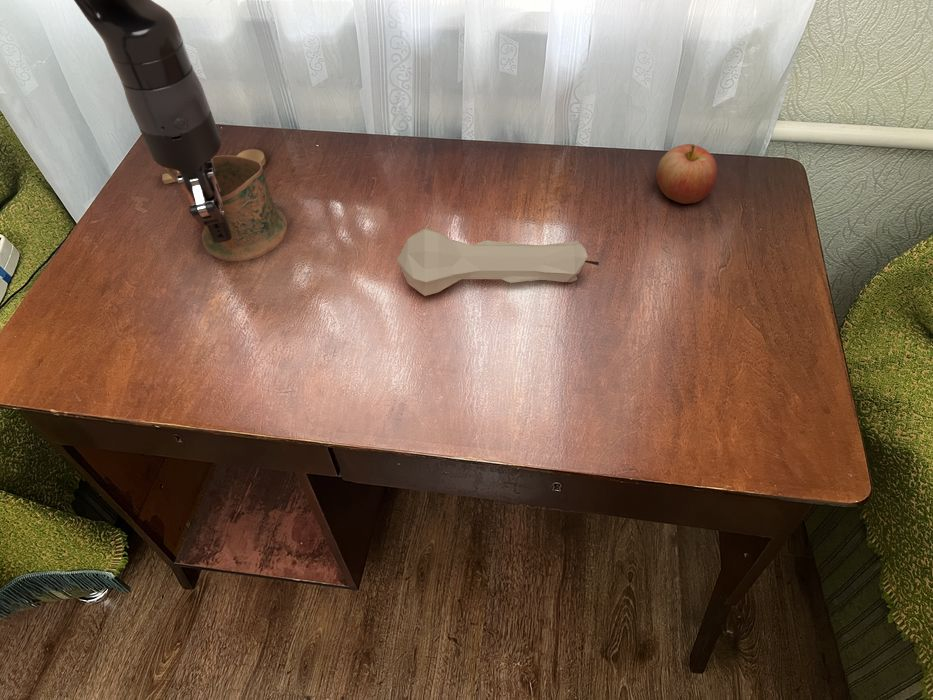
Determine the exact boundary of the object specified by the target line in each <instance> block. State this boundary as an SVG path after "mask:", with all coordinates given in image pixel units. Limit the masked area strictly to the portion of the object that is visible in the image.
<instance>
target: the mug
mask: <svg viewBox="0 0 933 700" xmlns="http://www.w3.org/2000/svg"><path fill="white" fill-rule="evenodd" d="M213 161H214V164H215V173H216V176H217V178H218V181H219V184H220V191H221V198H222V202H223V205H224V206H223V210H224V213H225V217H226V219H227V222H228V224H229V227H230V230H231V237H232V238H231V240H229V241H224V242H220V243H216V242H214V241H213V238H212V236H211V234H210V231H209V229H208V226H204V227H203V230H202V233H201V242H202V245H203V247H204V249H205V250H206V251H207V253H208V254H210V255H211V256H212V257H213V258H216V259H219V260H221V261H225V262H244V261H245V262H246V261H250V260H254V259H257V258H259V257H262V256H265V255H266V254H269V253H270V252H272V251H273V250H274V249H276V248H277V247H278V246H279V245H280V244H281V243H282V242H283V241H284V239H285V237H286V235H287V233H288V221H287V218H286V216H285V214H284V213H283V212H282V211H281V210H280V209H279V208H277V207H276V206H275V203H274V201H273V198H272V193H271V191H270V188H269V185H268V182H267V179H266V176H265V173H264V167H262V165H261V163H259V162H258V161H255V160H252V159H248V158H244V157H238V156H237V155H229V154H225V155H224V154H223V155H215V156H214V157H213ZM163 168H164V170H165V172H166V173H168V174H169V175H170V176H171V177H172V178H173V179H174V180H175V181H177V182H176V183H178V184H179V182H178V179H177V175H180V174H179V173H178V172H177V170H174V169H169V168H165V167H163Z"/></svg>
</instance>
